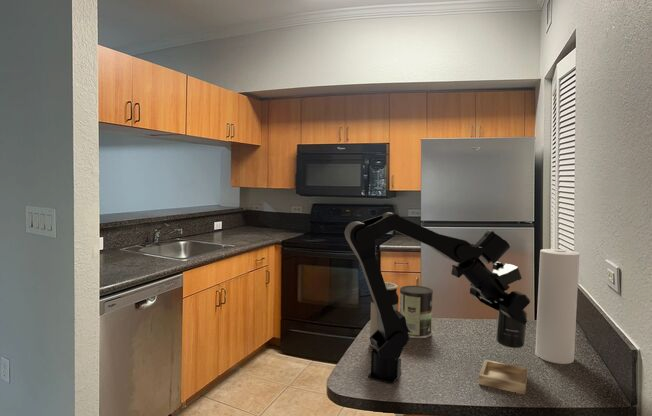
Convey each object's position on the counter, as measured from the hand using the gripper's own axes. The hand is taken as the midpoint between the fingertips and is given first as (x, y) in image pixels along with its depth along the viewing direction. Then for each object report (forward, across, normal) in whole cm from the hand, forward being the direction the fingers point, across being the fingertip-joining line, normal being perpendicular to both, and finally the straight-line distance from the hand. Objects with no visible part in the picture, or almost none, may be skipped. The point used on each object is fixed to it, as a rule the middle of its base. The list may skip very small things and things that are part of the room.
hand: (517, 318), depth 107 cm
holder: (+5, -6, +14) cm, 16 cm away
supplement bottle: (+4, 0, +6) cm, 7 cm away
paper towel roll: (+20, +5, -2) cm, 21 cm away
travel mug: (-11, +18, +31) cm, 38 cm away
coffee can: (-2, +27, +21) cm, 35 cm away
